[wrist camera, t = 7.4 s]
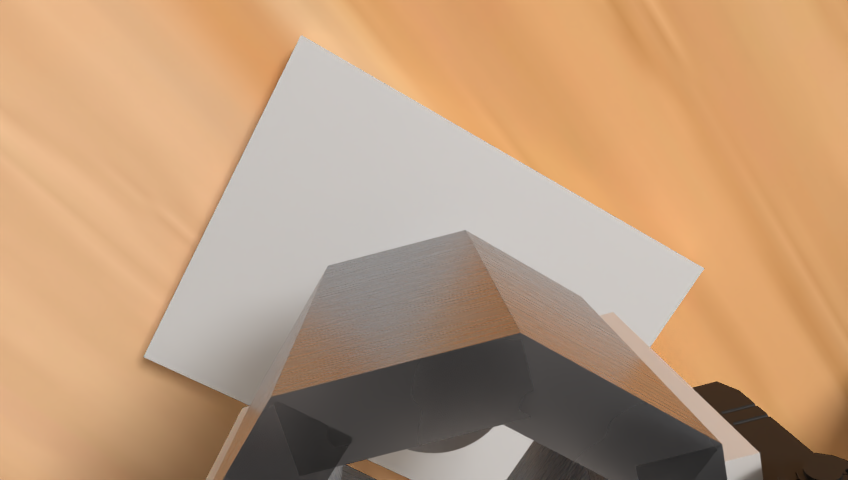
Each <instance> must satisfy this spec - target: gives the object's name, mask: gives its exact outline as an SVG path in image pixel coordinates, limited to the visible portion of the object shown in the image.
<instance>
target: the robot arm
mask: <svg viewBox="0 0 848 480" xmlns="http://www.w3.org/2000/svg"><path fill="white" fill-rule="evenodd" d="M600 317H601V318H602V319H603V320H604V321H605V322H606V323H607V324H608V325H609V326H610V327H611V328H612V329H613V330H614V331H615V332H616V334H617V335H618V336H619V337H620V338H621V339H622V340H623V341H624V342H625V343H626V344H627V345H628V346H629V347H630V348H631V349H632V350H633V351H634V352H635V353H636V354H637V356H638V357H639V358H640V359H641V360H642V361H643V362H644V363H645V364H646V365H647V366H648V367H649V368H650V369H651V370H652V371H653V372H654V373H655V374H656V375H657V376H658V377H659V379H660V380H661V381H662V382H663V383H664V384H665V385H666V386H667V387H668V388H669V389H670V390H671V391H672V392H673V393H674V394H675V395H676V396H677V397H678V398H679V399H680V401H681V402H682V403H683V404H684V405H685V406H686V407H687V408H688V409H689V410H690V411H691V412H692V413H693V414H694V415H695V416H696V417H697V418H698V419H699V420H700V421H701V422H702V424H703V425H704V426H705V427H706V428H707V429H708V430H709V431H710V432H711V433H712V434H713V435H714V436H715V437H716V438H717V439H718V440H719V441H720V442H721V443H722V446H723V453H724V460H725V467H726V474H727V480H848V461H847V460H844V459H841V458H839V457H836V456H833V455H826V454H819V453H813V452H812V451H811V450H810V449H808V448H807V447H806V446H805V445H804V444H802V443H801V442H800V441H799V440H798V439H796V438H795V437H794V436H793V435H792V434H790V433H789V432H788V431H787V430H786V429H785V428H783V427H782V426H781V425H780V424H779V423H777V422H776V421H775V420H774V419H773V418H771V417H768V415H767V413H765V412H764V411H763V410H762V409H761V408H759V407H758V406H755V404H754V403H753V402H752V401H751V400H750V399H749V398H747V397H746V396H745V395H744V394H743V393H741V392H740V391H739V390H737V389H734V388H732V387H729V386H727V385H724V384H722V383H719V382H713V383H709V384H705V385H701V386H697V387H693V388H692V387H691V386H690V385H689V384H688V383H687V382H685V381H684V380H683V379H682V378H681V377H680V376H679V375H678V374H677V373H676V372H675V371H674V370H673V369H672V368H671V367H670V366H669V365H668V364H667V363H666V362H665V361H664V360H663V359H662V358H660V357H659V356H658V355H657V354H656V353H655V352H654V351H653V350H652V349H651V348H650V347H649V346H648V345H647V344H646V343H645V342H644V341H643V340H642V339H641V338H640V337H639V336H638V335H637V334H635V333H634V332H633V331H632V330H631V329H630V328H629V327H628V326H627V325H626V324H625V323H624V322H623V321H622V320H621V319H620V318H619V317H618V316H617V315H616V314H615V313H614V312H611V313H607V314H604V315H600ZM248 408H249V406H247V407H243V408H242V410H241V411H240V413H239V415H238V417H237V419H236V421H235V423H234V425H233V427H232V429H231V431H230V433H229V435H228V437H227V439H226V441H225V443H224V445H223V447H222V449H221V451H220V453H219V454H218V456H217V458H216V460H215V462H214V464H213V466H212V468H211V470H210V472H209V474H208V476H207V478H206V480H213V479H214V477H215V475H216V473H217V471H218V469H219V467H220V465H221V463H222V461H223V459H224V457H225V455H226V453H227V451H228V449H229V447H230V445H231V443H232V441H233V439H234V437H235V435H236V433H237V431H238V429H239V427H240V425H241V423H242V421H243V418H244V416H245V414H246V412H247V410H248Z"/></svg>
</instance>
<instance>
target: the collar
mask: <svg viewBox="0 0 848 480" xmlns="http://www.w3.org/2000/svg"><path fill="white" fill-rule="evenodd" d="M499 425H505V426H507V427H509V428H511V429H512V430H514V431H516V432H518V433H520V434H522V435H524V436H526V437H528V438H530V439H532V440H534V441H533V442H532V444H531V445H530V447H529V448H528V449H527V451H526V452H525V454H524V455H523V457H522V458H521V459H520V461H519V462H518V464H517V465H516V467H515V468H514V470H513V471H512V472H511V474H510V475H509V477H508V478H507V479H506V480H727V474H726V467H725V460H724V453H723V446H722V443H721V442H720V441H719V440H718V439H717V438H716V437H715V436H714V435H713V434H712V433H711V432H710V431H709V430H708V429H707V428H706V427H705V426H704V425H703V424H702V422H701V421H700V420H699V419H698V418H697V417H696V416H695V415H694V414H693V413H692V412H691V411H690V410H689V409H688V408H687V407H686V406H685V405H684V404H683V403H682V402H681V401H680V399H679V398H678V397H677V396H676V395H675V394H674V393H673V392H672V391H671V390H670V389H669V388H668V387H667V386H666V385H665V384H664V383H663V382H662V381H661V380H660V379H659V377H658V376H657V375H656V374H655V373H654V372H653V371H652V370H651V369H650V368H649V367H648V366H647V365H646V364H645V363H644V362H643V361H642V360H641V359H640V358H639V357H638V356H637V354H636V353H635V352H634V351H633V350H632V349H631V348H630V347H629V346H628V345H627V344H626V343H625V342H624V341H623V340H622V339H621V338H620V337H619V336H618V335H617V334H616V332H615V331H614V330H613V329H612V328H611V327H610V326H609V325H608V324H607V323H606V322H605V321H604V320H603V319H602V318H601V317H600V316H599V315H598V314H597V313H596V312H595V311H594V309H593V308H592V307H591V306H590V305H589V304H588V303H587V302H586V301H585V300H584V299H583V298H582V297H581V296H579V295H577V294H576V293H574V292H572V291H571V290H569V289H567V288H565V287H564V286H562V285H560V284H558V283H557V282H555V281H553V280H551V279H550V278H548V277H546V276H545V275H543V274H541V273H539V272H538V271H536V270H534V269H532V268H531V267H529V266H527V265H525V264H524V263H522V262H520V261H518V260H517V259H515V258H513V257H512V256H510V255H508V254H506V253H505V252H503V251H501V250H499V249H498V248H496V247H494V246H492V245H491V244H489V243H487V242H486V241H484V240H482V239H480V238H479V237H477V236H475V235H473V234H472V233H470V232H468V231H466V230H463V231H459V232H455V233H451V234H448V235H444V236H440V237H436V238H432V239H428V240H424V241H421V242H417V243H413V244H409V245H405V246H401V247H398V248H394V249H390V250H386V251H382V252H378V253H375V254H371V255H367V256H363V257H359V258H355V259H351V260H348V261H344V262H340V263H336V264H332V265H328V266H327V268H326V270H325V272H324V273H323V275H322V277H321V279H320V280H319V282H318V284H317V286H316V287H315V289H314V291H313V293H312V294H311V296H310V298H309V299H308V301H307V303H306V305H305V306H304V308H303V310H302V312H301V313H300V315H299V317H298V319H297V320H296V322H295V324H294V326H293V327H292V329H291V331H290V333H289V334H288V336H287V338H286V340H285V341H284V343H283V345H282V347H281V348H280V350H279V352H278V354H277V355H276V357H275V359H274V361H273V362H272V364H271V366H270V368H269V369H268V371H267V373H266V375H265V376H264V378H263V380H262V382H261V384H260V386H259V388H258V390H257V392H256V394H255V396H254V398H253V400H252V402H251V404H250V406H249V408H248V410H247V412H246V414H245V416H244V418H243V421H242V423H241V425H240V427H239V429H238V431H237V433H236V435H235V437H234V439H233V441H232V443H231V445H230V447H229V449H228V451H227V453H226V455H225V457H224V459H223V461H222V463H221V465H220V467H219V469H218V471H217V473H216V475H215V477H214V479H213V480H376V479H374V478H372V477H370V476H368V475H366V474H364V473H362V472H360V471H358V470H356V469H353V468H351V467H349V466H347V465H346V464H350V463H354V462H358V461H362V460H366V459H369V458H373V457H377V456H381V455H385V454H389V453H393V452H397V451H401V450H405V449H409V448H413V447H417V446H421V445H425V444H428V443H432V442H436V441H440V440H444V439H448V438H452V437H456V436H460V435H464V434H468V433H472V432H476V431H480V430H483V429H487V428H491V427H495V426H499Z"/></svg>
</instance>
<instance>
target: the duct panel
mask: <svg viewBox="0 0 848 480" xmlns="http://www.w3.org/2000/svg"><path fill="white" fill-rule="evenodd" d="M463 230H466V231H468V232H470V233H472V234H473V235H475V236H477V237H479V238H480V239H482V240H484V241H486V242H487V243H489V244H491V245H492V246H494V247H496V248H498V249H499V250H501V251H503V252H505V253H506V254H508V255H510V256H512V257H513V258H515V259H517V260H518V261H520V262H522V263H524V264H525V265H527V266H529V267H531V268H532V269H534V270H536V271H538V272H539V273H541V274H543V275H545V276H546V277H548V278H550V279H551V280H553V281H555V282H557V283H558V284H560V285H562V286H564V287H565V288H567V289H569V290H571V291H572V292H574V293H576V294H577V295H579V296H581V297H582V298H583V299H584V300H585V301H586V302H587V303H588V304H589V305H590V306H591V307H592V308H593V309H594V311H595V312H596V313H597V314H598V315H599V316H600V315H604V314H607V313H611V312H614V313H615V314H616V315H617V316H618V317H619V318H620V319H621V320H622V321H623V322H624V323H625V324H626V325H627V326H628V327H629V328H630V329H631V330H632V331H633V332H634V333H635V334H637V335H638V336H639V337H640V338H641V339H642V340H643V341H644V342H645V343H646V344H647V345H648V346H649V347H650V346H651V345H652V344H653V342H654V341H655V339H656V338H657V336H658V335H659V333H660V332H661V331H662V329H663V328H664V326H665V325H666V323H667V322H668V320H669V319H670V317H671V316H672V315H673V313H674V312H675V310H676V309H677V307H678V306H679V304H680V303H681V302H682V300H683V299H684V297H685V296H686V294H687V293H688V291H689V290H690V288H691V287H692V286H693V284H694V283H695V281H696V280H697V278H698V277H699V275H700V274H701V273H702V271H703V270H704V268H703V267H701V266H699V265H697V264H696V263H694V262H692V261H690V260H689V259H687V258H685V257H684V256H682V255H680V254H678V253H677V252H675V251H673V250H671V249H670V248H668V247H666V246H665V245H663V244H661V243H659V242H658V241H656V240H654V239H652V238H651V237H649V236H647V235H646V234H644V233H642V232H640V231H639V230H637V229H635V228H633V227H632V226H630V225H628V224H627V223H625V222H623V221H621V220H620V219H618V218H616V217H614V216H613V215H611V214H609V213H608V212H606V211H604V210H602V209H601V208H599V207H597V206H595V205H594V204H592V203H590V202H589V201H587V200H585V199H583V198H582V197H580V196H578V195H576V194H575V193H573V192H571V191H570V190H568V189H566V188H564V187H563V186H561V185H559V184H557V183H556V182H554V181H552V180H551V179H549V178H547V177H545V176H544V175H542V174H540V173H538V172H537V171H535V170H533V169H532V168H530V167H528V166H526V165H525V164H523V163H521V162H519V161H518V160H516V159H514V158H513V157H511V156H509V155H507V154H506V153H504V152H502V151H500V150H499V149H497V148H495V147H494V146H492V145H490V144H488V143H487V142H485V141H483V140H481V139H480V138H478V137H476V136H475V135H473V134H471V133H469V132H468V131H466V130H464V129H462V128H461V127H459V126H457V125H456V124H454V123H452V122H450V121H449V120H447V119H445V118H443V117H442V116H440V115H438V114H437V113H435V112H433V111H431V110H430V109H428V108H426V107H424V106H423V105H421V104H419V103H418V102H416V101H414V100H412V99H411V98H409V97H407V96H405V95H404V94H402V93H400V92H399V91H397V90H395V89H393V88H392V87H390V86H388V85H386V84H385V83H383V82H381V81H380V80H378V79H376V78H374V77H373V76H371V75H369V74H367V73H366V72H364V71H362V70H361V69H359V68H357V67H355V66H354V65H352V64H350V63H348V62H347V61H345V60H343V59H342V58H340V57H338V56H336V55H335V54H333V53H331V52H329V51H328V50H326V49H324V48H323V47H321V46H319V45H317V44H316V43H314V42H312V41H311V40H309V39H307V38H305V37H304V36H302V35H301V36H300V38H299V40H298V42H297V44H296V47H295V49H294V51H293V53H292V55H291V57H290V59H289V61H288V63H287V65H286V67H285V69H284V71H283V73H282V75H281V77H280V79H279V81H278V83H277V85H276V87H275V89H274V91H273V93H272V96H271V98H270V100H269V102H268V104H267V106H266V108H265V110H264V112H263V114H262V116H261V118H260V120H259V122H258V124H257V126H256V128H255V130H254V132H253V134H252V136H251V138H250V140H249V143H248V145H247V147H246V149H245V151H244V153H243V155H242V157H241V159H240V161H239V163H238V165H237V167H236V169H235V171H234V173H233V175H232V177H231V179H230V181H229V183H228V185H227V187H226V189H225V192H224V194H223V196H222V198H221V200H220V202H219V204H218V206H217V208H216V210H215V212H214V214H213V216H212V218H211V220H210V222H209V224H208V226H207V228H206V230H205V232H204V234H203V236H202V239H201V241H200V243H199V245H198V247H197V249H196V251H195V253H194V255H193V257H192V259H191V261H190V263H189V265H188V267H187V269H186V271H185V273H184V275H183V277H182V279H181V281H180V283H179V285H178V288H177V290H176V292H175V294H174V296H173V298H172V300H171V302H170V304H169V306H168V308H167V310H166V312H165V314H164V316H163V318H162V320H161V322H160V324H159V326H158V328H157V330H156V332H155V335H154V337H153V339H152V341H151V343H150V345H149V347H148V349H147V351H146V353H145V355H144V358H146V359H149V360H151V361H153V362H155V363H157V364H160V365H162V366H164V367H166V368H168V369H171V370H173V371H175V372H177V373H179V374H181V375H184V376H186V377H188V378H190V379H192V380H195V381H197V382H199V383H201V384H203V385H205V386H208V387H210V388H212V389H214V390H216V391H219V392H221V393H223V394H225V395H227V396H229V397H232V398H234V399H236V400H238V401H240V402H243V403H245V404H247V405H249V406H250V404H251V402H252V400H253V398H254V396H255V394H256V392H257V390H258V388H259V386H260V384H261V382H262V380H263V378H264V376H265V375H266V373H267V371H268V369H269V368H270V366H271V364H272V362H273V361H274V359H275V357H276V355H277V354H278V352H279V350H280V348H281V347H282V345H283V343H284V341H285V340H286V338H287V336H288V334H289V333H290V331H291V329H292V327H293V326H294V324H295V322H296V320H297V319H298V317H299V315H300V313H301V312H302V310H303V308H304V306H305V305H306V303H307V301H308V299H309V298H310V296H311V294H312V293H313V291H314V289H315V287H316V286H317V284H318V282H319V280H320V279H321V277H322V275H323V273H324V272H325V270H326V268H327V266H328V265H332V264H336V263H340V262H344V261H348V260H351V259H355V258H359V257H363V256H367V255H371V254H375V253H378V252H382V251H386V250H390V249H394V248H398V247H401V246H405V245H409V244H413V243H417V242H421V241H424V240H428V239H432V238H436V237H440V236H444V235H448V234H451V233H455V232H459V231H463ZM533 441H534V440H532V439H530V438H528V437H526V436H524V435H522V434H520V433H518V432H516V431H514V430H512V429H511V428H509V427H507V426H505V425H499V426H495V427H491V428H487V429H483V430H480V431H476V432H472V433H468V434H464V435H460V436H456V437H452V438H448V439H444V440H440V441H436V442H432V443H428V444H425V445H421V446H417V447H413V448H409V449H405V450H401V451H397V452H393V453H389V454H385V455H381V456H377V457H373V458H369V459H367V460H369V461H371V462H374V463H376V464H378V465H380V466H382V467H384V468H387V469H389V470H391V471H393V472H395V473H398V474H400V475H402V476H404V477H406V478H409V479H411V480H506V479H507V478H508V477H509V475H510V474H511V472H512V471H513V470H514V468H515V467H516V465H517V464H518V462H519V461H520V459H521V458H522V457H523V455H524V454H525V452H526V451H527V449H528V448H529V447H530V445H531V444H532V442H533Z"/></svg>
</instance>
